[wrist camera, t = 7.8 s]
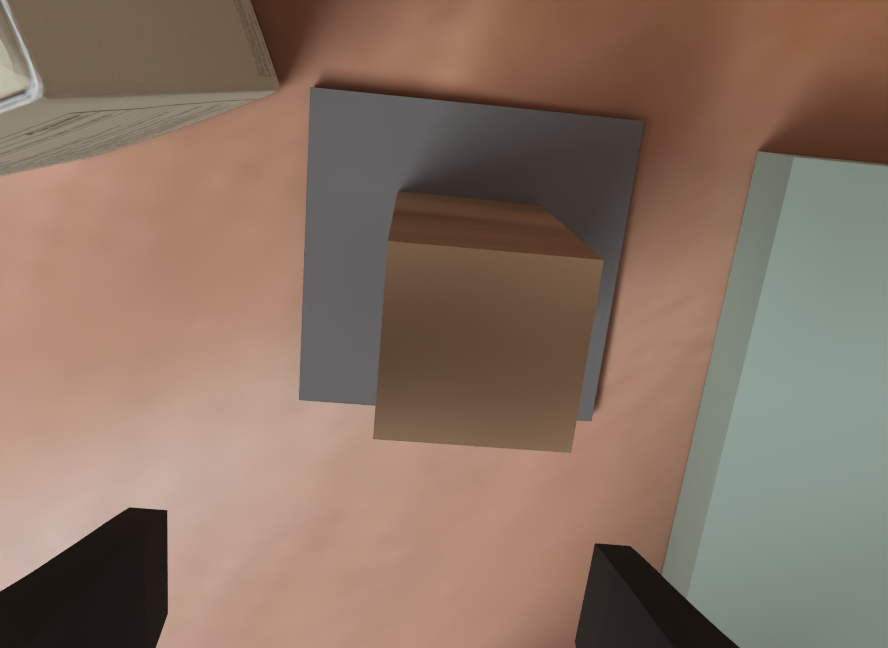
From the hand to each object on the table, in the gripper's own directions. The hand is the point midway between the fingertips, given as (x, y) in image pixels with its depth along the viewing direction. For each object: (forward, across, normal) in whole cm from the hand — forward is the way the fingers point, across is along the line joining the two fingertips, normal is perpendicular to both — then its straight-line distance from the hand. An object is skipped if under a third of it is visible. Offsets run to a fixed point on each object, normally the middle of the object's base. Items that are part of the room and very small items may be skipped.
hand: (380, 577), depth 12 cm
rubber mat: (+10, -2, -3) cm, 11 cm away
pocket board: (+10, -17, 0) cm, 19 cm away
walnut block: (+10, -2, -3) cm, 10 cm away
